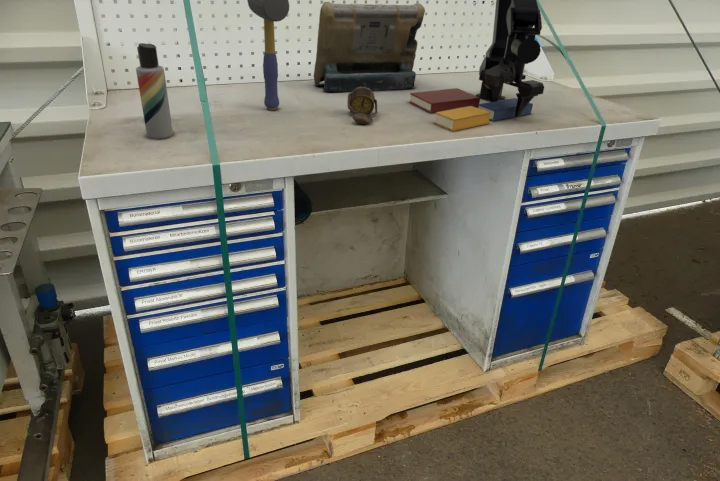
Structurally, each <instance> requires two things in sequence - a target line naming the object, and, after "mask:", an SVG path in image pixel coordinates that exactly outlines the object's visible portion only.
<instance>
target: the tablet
mask: <svg viewBox="0 0 720 481" xmlns="http://www.w3.org/2000/svg"><path fill="white" fill-rule="evenodd" d="M425 14H426V9H425V6H424V5H423V4H422V3H419V2H417V3H413V4H383V3H378V4H374V3H373V4H369V3H368V4H367V3H365V4H364V3H349V4H347V3H332V2H330V1H323V3H322V5H321V7H320V10H319V17H318V20H319V21H318V29H317V42H316V56H315V62H314V68H313V69H314V71H313V80H314V85H315V86H319V85H320V83H322V82H324V84H323V92H324V93H331V92H332V93H333V92H352V91H353V90H354V89H356V88H358V87H367V88H369V89H371V91H372V92H373V91H392V90H407V89H415V88H416V87H415V83H416V76H417V73H416V71H414V70H413V69H414V66H415V60H416V55H417V54H416V53H417V51H418V50H417V49H418V40H417V39H416V36H417V33H418V30H419V29H420V28H421V27H422V24H423V21H424V16H425Z"/></svg>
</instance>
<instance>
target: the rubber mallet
mask: <svg viewBox="0 0 720 481" xmlns="http://www.w3.org/2000/svg"><path fill="white" fill-rule="evenodd" d="M247 5H248V8H249V9H250V11H251V12H252V13H253V14H255V15H256V16H258V17H259V18H261V19H263V33H264V34H263V38H264V53H263V58H262V60H263V61H262V73H263V81H264V93H265V94H264V95H265V96H264V101H263V104H264V107H265V108H266V109H267V110H269V111H275V110H278V107H279V106H280V99H279V94H278V78H279V77H278V76H279V67H278V56H277V53H276V41H275V22H276V23H277V22H282V21H283V20H284V19H286V17H287V16H288V15H289V11H290V1H289V0H247Z"/></svg>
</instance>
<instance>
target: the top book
mask: <svg viewBox="0 0 720 481" xmlns="http://www.w3.org/2000/svg"><path fill="white" fill-rule="evenodd" d="M478 108H479V107H478ZM478 108H476V107H473V106H468V107H462V108H457V109H451V110H446V111H441V112H436V113H435V121H434V125H437V126H440V127H441V128H444V129H446V130H448V131H451V132H456V131H461V130H466V129H472V128H476V127H481V126H485V125H489V123H490V120H489V117H490V113H489V112H487V111H484V110H481V109H478Z"/></svg>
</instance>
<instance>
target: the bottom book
mask: <svg viewBox="0 0 720 481" xmlns="http://www.w3.org/2000/svg"><path fill="white" fill-rule="evenodd" d="M409 95H410V98H409V99H410V100H409V104H412V106H415V107H417V108H419V109H421V110H423V111H426V112H427V113H429V114H436V112H441V111H446V110H451V109H457V108H462V107H468V106H473V107H476V108H479V105H478V104H481V97H478V96H476V95H474V94H472V93H470V92H468V91H464V90H463V89H460V88H458V87H457V88H447V89H446V88H445V89H436V90H427V91H417V92H416V91H415V92H410V93H409Z"/></svg>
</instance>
